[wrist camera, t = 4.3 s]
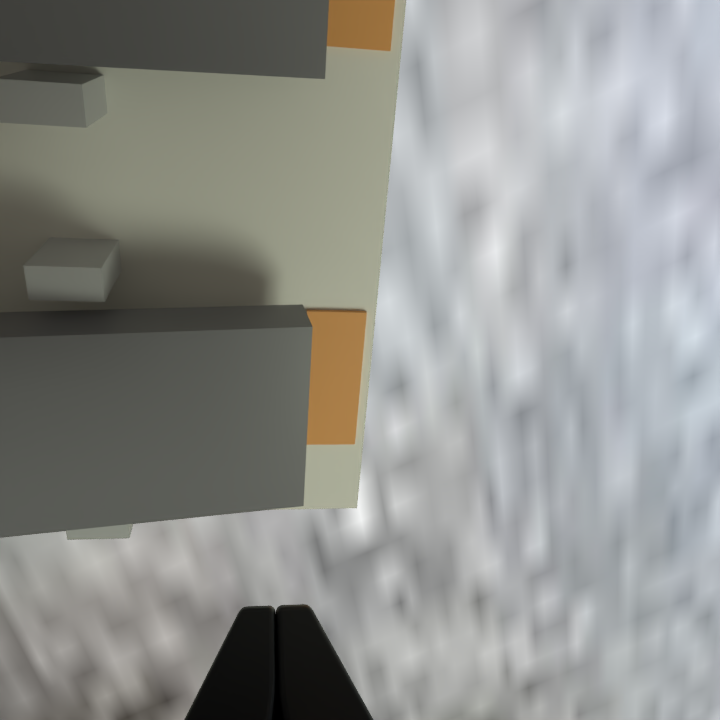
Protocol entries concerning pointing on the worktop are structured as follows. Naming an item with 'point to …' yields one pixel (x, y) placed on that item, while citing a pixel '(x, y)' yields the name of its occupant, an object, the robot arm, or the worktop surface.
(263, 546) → the worktop surface
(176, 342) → the block
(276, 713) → the robot arm
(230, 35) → the block
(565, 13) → the worktop surface
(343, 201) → the switch panel
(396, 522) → the worktop surface
